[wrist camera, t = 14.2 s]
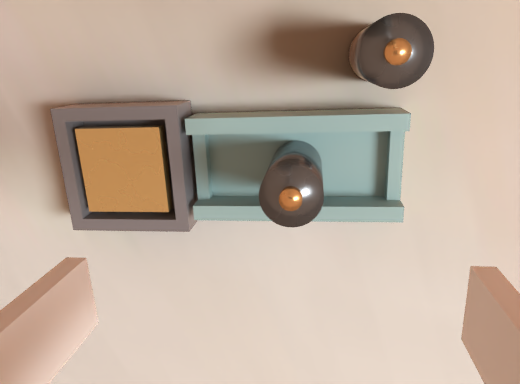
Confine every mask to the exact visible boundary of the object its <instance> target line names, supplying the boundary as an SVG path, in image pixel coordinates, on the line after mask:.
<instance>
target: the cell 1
mask: <svg viewBox="0 0 520 384" xmlns="http://www.w3.org/2000/svg"><path fill="white" fill-rule="evenodd" d="M259 202H260V206H261V208H262V210H263V212H264V213H265V215H266V216H267V217H268V218H269V219H270V220H272V221H273V222H275V223H276V224H279V225H281V226H285V227H299V226H302V225H305V224H307V223H309V222H311V221H312V220H313V219H314V218H315V217H316V216H317V215H318V214H319V212H320V210H321V209H322V206H323V202H324V190H323V174H322V161H321V157H320V155H319V153H318V151H317V150H316V149H315V148H314V147H313V146H312V145H311V144H309V143H307V142H304V141H298V140H295V141H289V142H287V143H285V144H283V145H281V146H280V147H279V148H278V149H277V150H276V152H275V153H274V156H273V158H272V160H271V162H270V165H269V167H268V169H267V172H266V174H265V176H264V179H263V181H262V183H261V186H260V189H259Z"/></svg>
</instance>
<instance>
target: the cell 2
mask: <svg viewBox="0 0 520 384" xmlns="http://www.w3.org/2000/svg"><path fill="white" fill-rule="evenodd" d="M433 53H434V41H433V37H432V34H431V32H430V30H429V28H428V27H427V25H426V24H425V23H424V22H423V21H422V20H420V19H419V18H417V17H415V16H413V15H410V14H406V13H395V14H391V15H387V16H385V17H383V18H381V19H379V20H378V21H376V22H374V23H373V24H371V25H370V26H368V27H366V28H365V29H363V30H362V31H360V32H359V33H358V34H357V35H356V36H355V38H354V39H353V41H352V43H351V45H350V49H349V62H350V66H351V68H352V70H353V71H354V72H355V74H356V75H357V76H359V77H360V78H362V79H364V80H366V81H368V82H371V83H373V84H376V85H378V86H380V87H383V88H388V89H398V88H403V87H406V86H409V85H411V84H413V83H414V82H416V81H417V80H418V79H419V78H421V77H422V75H423V74H424V73H425V72H426V71H427V69H428V67H429V65H430V63H431V61H432V58H433Z"/></svg>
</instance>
